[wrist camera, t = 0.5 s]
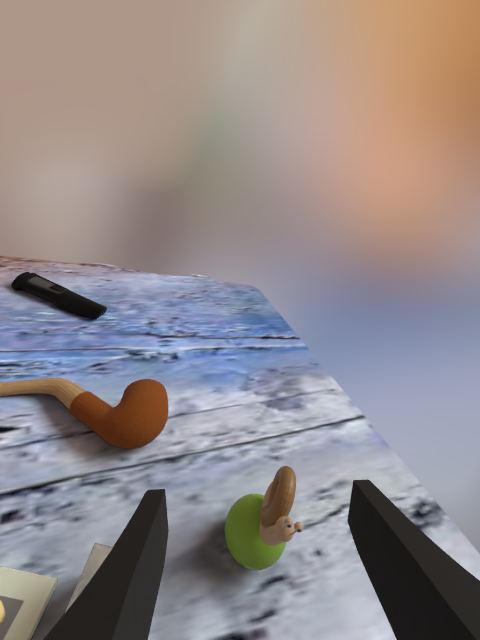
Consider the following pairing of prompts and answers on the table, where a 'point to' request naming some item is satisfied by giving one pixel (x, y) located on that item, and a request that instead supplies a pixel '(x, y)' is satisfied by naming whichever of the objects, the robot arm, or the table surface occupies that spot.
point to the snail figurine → (262, 523)
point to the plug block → (90, 569)
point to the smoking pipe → (107, 408)
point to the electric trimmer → (58, 295)
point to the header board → (22, 602)
